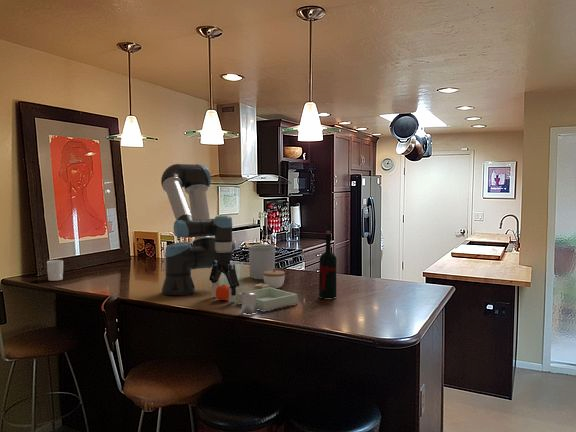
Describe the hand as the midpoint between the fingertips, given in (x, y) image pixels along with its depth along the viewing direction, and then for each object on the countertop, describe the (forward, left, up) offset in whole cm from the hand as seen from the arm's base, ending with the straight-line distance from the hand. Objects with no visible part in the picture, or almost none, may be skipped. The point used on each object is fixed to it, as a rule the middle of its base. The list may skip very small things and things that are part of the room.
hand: (223, 299), depth 199 cm
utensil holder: (-30, +45, 0) cm, 54 cm away
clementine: (0, 0, 0) cm, 0 cm away
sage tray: (+18, +10, 0) cm, 21 cm away
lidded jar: (-5, +33, 0) cm, 33 cm away
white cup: (-96, -43, 0) cm, 105 cm away
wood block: (+4, +18, 0) cm, 18 cm away
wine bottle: (+27, +37, 0) cm, 46 cm away
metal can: (+24, -4, 0) cm, 24 cm away
